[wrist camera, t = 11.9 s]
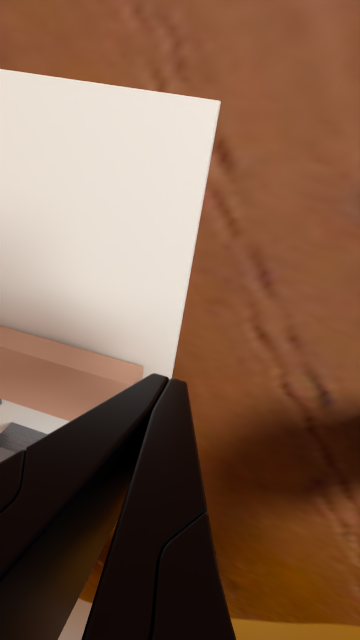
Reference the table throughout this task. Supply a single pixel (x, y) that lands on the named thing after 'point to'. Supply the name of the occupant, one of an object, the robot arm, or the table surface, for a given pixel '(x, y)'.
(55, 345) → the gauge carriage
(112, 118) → the base
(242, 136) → the table surface
